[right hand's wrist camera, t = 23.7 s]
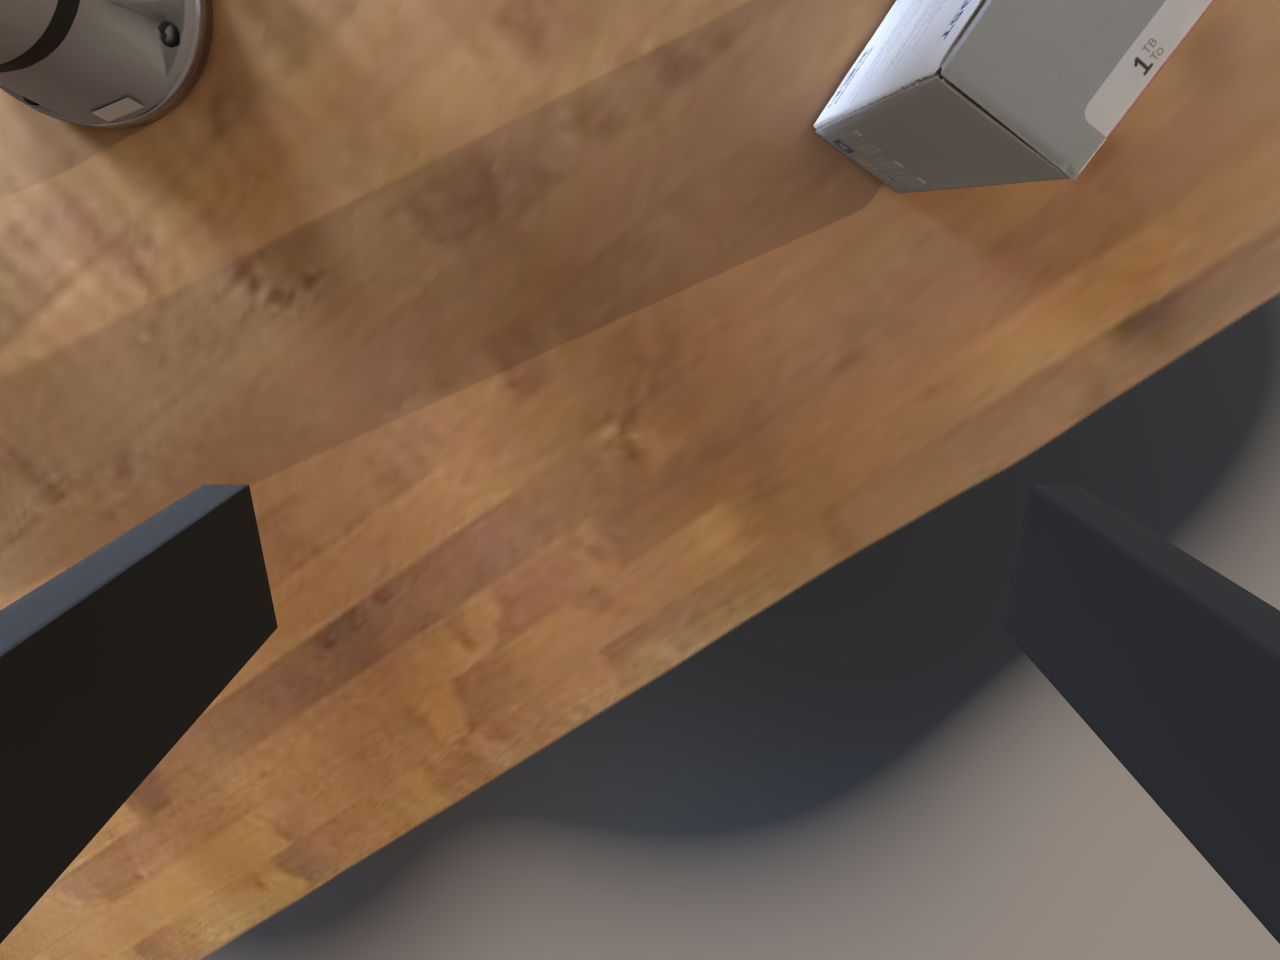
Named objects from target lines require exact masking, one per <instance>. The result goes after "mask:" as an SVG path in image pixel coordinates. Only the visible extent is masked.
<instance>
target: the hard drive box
mask: <svg viewBox="0 0 1280 960" xmlns="http://www.w3.org/2000/svg"><path fill="white" fill-rule="evenodd" d="M1212 2H1213V0H896V2H895V3H894V5H893V6H892V8H891V9H890V11H889V12H888V14H887V15H886V17H885V18H884V20H883V21H882V23H881V25H880V26H879V28H878V29H877V31H876V32H875V34H874V35H873V37H872V38H871V40H870V41H869V42H868V44H867V45H866V47H865V48H864V50H863V51H862V53H861V54H860V56H859V57H858V59H857V60H856V62H855V63H854V65H853V66H852V68H851V69H850V71H849V72H848V74H847V75H846V77H845V78H844V80H843V81H842V83H841V84H840V86H839V87H838V89H837V90H836V92H835V94H834V95H833V97H832V98H831V100H830V101H829V103H828V104H827V105H826V107H825V108H824V110H823V112H822V113H821V115H820V116H819V118H818V119H817V121H816V122H815V124H814V128H816V133H817V134H818V135H819V136H821V137H822V138H823V139H825V140H826V141H827V142H829V143H830V144H831V145H833V146H834V147H835V148H837V149H838V150H839V151H841V152H842V153H843V154H845V155H846V156H847V157H849V158H850V159H851V160H853V161H854V162H856V163H857V164H858V165H860V166H861V167H863V168H864V169H865V170H867V171H868V172H869V173H871V174H872V175H873V176H875V177H876V178H877V179H879V180H880V181H882V182H883V183H884V184H886V185H887V186H889V187H890V188H891V189H893V190H894V191H896V192H897V193H909V192H920V191H932V190H944V189H956V188H967V187H979V186H990V185H1001V184H1012V183H1023V182H1034V181H1046V180H1057V179H1072V180H1075V179H1076V178H1077V177H1078V175H1079V174H1080V173H1081V171H1082V170H1083V169H1084V167H1085V166H1086V165H1087V163H1088V162H1089V161H1090V159H1091V158H1092V157H1093V155H1094V154H1095V153H1096V151H1097V150H1098V149H1099V147H1100V146H1101V145H1102V144H1103V143H1104V141H1105V140H1106V139H1107V138H1108V137H1109V136H1110V134H1111V133H1112V132H1113V130H1114V129H1115V128H1116V127H1117V125H1118V124H1119V123H1120V121H1121V120H1122V119H1123V117H1124V116H1125V115H1126V114H1127V112H1128V111H1129V110H1130V108H1131V107H1132V106H1133V105H1134V103H1135V102H1136V101H1137V99H1138V98H1139V97H1140V95H1141V94H1142V93H1143V91H1144V90H1145V89H1146V87H1147V86H1148V85H1149V84H1150V82H1151V81H1152V80H1153V79H1154V78H1155V76H1156V75H1157V74H1158V72H1159V71H1160V70H1161V68H1162V67H1163V66H1164V64H1165V63H1166V62H1167V60H1168V59H1169V58H1170V56H1171V55H1172V54H1173V53H1174V51H1175V50H1176V49H1177V47H1178V46H1179V45H1180V43H1181V42H1182V41H1183V40H1184V38H1185V37H1186V36H1187V34H1188V33H1189V32H1190V31H1191V29H1192V28H1193V27H1194V25H1195V24H1196V23H1197V21H1198V20H1199V19H1200V18H1201V16H1202V15H1203V14H1204V12H1205V11H1206V10H1207V9H1208V7H1209V6H1210V5H1211V3H1212Z"/></svg>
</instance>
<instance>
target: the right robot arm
mask: <svg viewBox="0 0 1280 960" xmlns="http://www.w3.org/2000/svg"><path fill="white" fill-rule="evenodd" d="M211 36H212V1H211V0H0V88H1V89H3V90H4V91H5V92H7V93H8V94H10V95H11V96H13V97H15V98H16V99H18V100H19V101H21V102H23V103H25V104H26V105H28V106H30V107H32V108H33V109H35V110H37V111H39V112H41V113H44V114H46V115H49V116H51V117H54V118H57V119H60V120H63V121H67V122H71V123H76V124H81V125H88V126H94V127H102V128H129V127H135V126H140V125H144V124H147V123H149V122H152V121H155V120H157V119H159V118H161V117H163V116H164V115H166V114H167V113H169V112H170V111H172V110H173V109H174V108H175V107H177V106H178V105H179V104H180V103H181V102H182V101H183V100H184V99H185V98H186V97H187V96H188V94H189V93H190V92H191V90H192V89H193V87H194V86H195V84H196V82H197V81H198V79H199V77H200V75H201V73H202V70H203V68H204V66H205V63H206V60H207V56H208V53H209V48H210V43H211ZM276 629H277V622H276V617H275V612H274V607H273V602H272V597H271V592H270V587H269V582H268V577H267V572H266V567H265V562H264V557H263V552H262V547H261V542H260V537H259V532H258V527H257V522H256V517H255V512H254V507H253V502H252V497H251V492H250V487H249V485H202V486H201V487H199V488H197V489H196V490H194V491H193V492H191V493H189V494H188V495H186V496H185V497H183V498H181V499H180V500H178V501H177V502H175V503H173V504H172V505H170V506H168V507H167V508H165V509H164V510H162V511H160V512H159V513H157V514H156V515H154V516H152V517H151V518H149V519H148V520H146V521H144V522H143V523H141V524H139V525H138V526H136V527H135V528H133V529H131V530H130V531H128V532H127V533H125V534H123V535H122V536H120V537H119V538H117V539H115V540H114V541H112V542H110V543H109V544H107V545H106V546H104V547H102V548H101V549H99V550H98V551H96V552H94V553H93V554H91V555H90V556H88V557H86V558H85V559H83V560H81V561H80V562H78V563H77V564H75V565H73V566H72V567H70V568H69V569H67V570H65V571H64V572H62V573H61V574H59V575H57V576H56V577H54V578H52V579H51V580H49V581H48V582H46V583H44V584H43V585H41V586H40V587H38V588H36V589H35V590H33V591H32V592H30V593H28V594H27V595H25V596H24V597H22V598H20V599H19V600H17V601H15V602H14V603H12V604H11V605H9V606H7V607H6V608H4V609H3V610H1V611H0V944H1V942H2V941H3V940H4V939H5V938H6V937H7V936H8V934H9V933H10V932H11V931H12V930H13V929H14V928H15V926H16V925H17V924H18V923H19V922H20V921H21V920H22V918H23V917H24V916H25V915H26V914H27V913H28V912H29V910H30V909H31V908H32V907H33V906H34V905H35V904H36V902H37V901H38V900H39V899H40V898H41V897H42V896H43V894H44V893H45V892H46V891H47V890H48V889H49V888H50V886H51V885H52V884H53V883H54V882H55V881H56V880H57V878H58V877H59V876H60V875H61V874H62V873H63V872H64V870H65V869H66V868H67V867H68V866H69V865H70V864H71V863H72V861H73V860H74V859H75V858H76V857H77V856H78V855H79V853H80V852H81V851H82V850H83V849H84V848H85V847H86V845H87V844H88V843H89V842H90V841H91V840H92V839H93V837H94V836H95V835H96V834H97V833H98V832H99V831H100V829H101V828H102V827H103V826H104V825H105V824H106V823H107V821H108V820H109V819H110V818H111V817H112V816H113V815H114V813H115V812H116V811H117V810H118V809H119V808H120V807H121V805H122V804H123V803H124V802H125V801H126V800H127V799H128V797H129V796H130V795H131V794H132V793H133V792H134V791H135V789H136V788H137V787H138V786H139V785H140V784H141V783H142V781H143V780H144V779H145V778H146V777H147V776H148V775H149V773H150V772H151V771H152V770H153V769H154V768H155V767H156V766H157V764H158V763H159V762H160V761H161V760H162V759H163V758H164V756H165V755H166V754H167V753H168V752H169V751H170V750H171V748H172V747H173V746H174V745H175V744H176V743H177V742H178V740H179V739H180V738H181V737H182V736H183V735H184V734H185V732H186V731H187V730H188V729H189V728H190V727H191V726H192V724H193V723H194V722H195V721H196V720H197V719H198V718H199V716H200V715H201V714H202V713H203V712H204V711H205V710H206V708H207V707H208V706H209V705H210V704H211V703H212V702H213V700H214V699H215V698H216V697H217V696H218V695H219V694H220V692H221V691H222V690H223V689H224V688H225V687H226V686H227V684H228V683H229V682H230V681H231V680H232V679H233V678H234V676H235V675H236V674H237V673H238V672H239V671H240V670H241V668H242V667H243V666H244V665H245V664H246V663H247V662H248V661H249V659H250V658H251V657H252V656H253V655H254V654H255V653H256V651H257V650H258V649H259V648H260V647H261V646H262V645H263V643H264V642H265V641H266V640H267V639H268V638H269V637H270V635H271V634H272V633H273V632H274V631H275V630H276ZM1003 629H1004V630H1005V631H1006V632H1007V633H1008V634H1009V635H1010V637H1011V638H1012V639H1013V640H1014V641H1015V642H1016V643H1017V645H1018V646H1019V647H1020V648H1021V649H1022V650H1023V651H1024V653H1025V654H1026V655H1027V656H1028V657H1029V658H1030V659H1031V660H1032V662H1033V663H1034V664H1035V665H1036V666H1037V667H1038V668H1039V670H1040V671H1041V672H1042V673H1043V674H1044V675H1045V676H1046V678H1047V679H1048V680H1049V681H1050V682H1051V683H1052V684H1053V686H1054V687H1055V688H1056V689H1057V690H1058V691H1059V692H1060V694H1061V695H1062V696H1063V697H1064V698H1065V699H1066V700H1067V702H1068V703H1069V704H1070V705H1071V706H1072V707H1073V708H1074V710H1075V711H1076V712H1077V713H1078V714H1079V715H1080V716H1081V718H1082V719H1083V720H1084V721H1085V722H1086V723H1087V724H1088V726H1089V727H1090V728H1091V729H1092V730H1093V731H1094V732H1095V733H1096V735H1097V736H1098V737H1099V738H1100V739H1101V740H1102V742H1103V743H1104V744H1105V745H1106V746H1107V747H1108V748H1109V750H1110V751H1111V752H1112V753H1113V754H1114V755H1115V756H1116V758H1117V759H1118V760H1119V761H1120V762H1121V763H1122V764H1123V766H1124V767H1125V768H1126V769H1127V770H1128V771H1129V772H1130V773H1131V775H1132V776H1133V777H1134V778H1135V779H1136V780H1137V781H1138V783H1139V784H1140V785H1141V786H1142V787H1143V788H1144V789H1145V791H1146V792H1147V793H1148V794H1149V795H1150V796H1151V797H1152V799H1153V800H1154V801H1155V802H1156V803H1157V804H1158V805H1159V807H1160V808H1161V809H1162V810H1163V811H1164V812H1165V813H1166V815H1167V816H1168V817H1169V818H1170V819H1171V820H1172V821H1173V823H1174V824H1175V825H1176V826H1177V827H1178V828H1179V829H1180V831H1181V832H1182V833H1183V834H1184V835H1185V836H1186V837H1187V839H1188V840H1189V841H1190V842H1191V843H1192V844H1193V845H1194V847H1195V848H1196V849H1197V850H1198V851H1199V852H1200V853H1201V854H1202V856H1203V857H1204V858H1205V859H1206V860H1207V861H1208V863H1209V864H1210V865H1211V866H1212V867H1213V868H1214V869H1215V870H1216V872H1217V873H1218V874H1219V875H1220V876H1221V877H1222V878H1223V880H1224V881H1225V882H1226V883H1227V884H1228V885H1229V886H1230V888H1231V889H1232V890H1233V891H1234V892H1235V893H1236V894H1237V896H1238V897H1239V898H1240V899H1241V900H1242V901H1243V902H1244V904H1245V905H1246V906H1247V907H1248V908H1249V909H1250V910H1251V912H1252V913H1253V914H1254V915H1255V916H1256V917H1257V918H1258V920H1259V921H1260V922H1261V923H1262V924H1263V925H1264V926H1265V928H1266V929H1267V930H1268V931H1269V932H1270V933H1271V934H1272V936H1273V937H1274V938H1275V939H1276V940H1277V941H1278V942H1279V943H1280V611H1279V610H1277V609H1276V608H1274V607H1273V606H1271V605H1269V604H1268V603H1266V602H1265V601H1263V600H1261V599H1260V598H1258V597H1256V596H1255V595H1253V594H1252V593H1250V592H1248V591H1247V590H1245V589H1244V588H1242V587H1240V586H1239V585H1237V584H1236V583H1234V582H1232V581H1231V580H1229V579H1228V578H1226V577H1224V576H1223V575H1221V574H1219V573H1218V572H1216V571H1215V570H1213V569H1211V568H1210V567H1208V566H1207V565H1205V564H1203V563H1202V562H1200V561H1199V560H1197V559H1195V558H1194V557H1192V556H1190V555H1189V554H1187V553H1186V552H1184V551H1182V550H1181V549H1179V548H1178V547H1176V546H1174V545H1173V544H1171V543H1170V542H1168V541H1166V540H1165V539H1163V538H1161V537H1160V536H1158V535H1157V534H1155V533H1153V532H1152V531H1150V530H1149V529H1147V528H1145V527H1144V526H1142V525H1141V524H1139V523H1137V522H1136V521H1134V520H1132V519H1131V518H1129V517H1128V516H1126V515H1124V514H1123V513H1121V512H1120V511H1118V510H1116V509H1115V508H1113V507H1111V506H1110V505H1108V504H1107V503H1105V502H1103V501H1102V500H1100V499H1099V498H1097V497H1095V496H1094V495H1092V494H1091V493H1089V492H1087V491H1086V490H1084V489H1083V488H1081V487H1079V486H1078V485H1031V487H1030V492H1029V497H1028V502H1027V507H1026V512H1025V517H1024V523H1023V527H1022V532H1021V537H1020V542H1019V547H1018V552H1017V557H1016V562H1015V567H1014V572H1013V577H1012V582H1011V587H1010V592H1009V597H1008V602H1007V607H1006V612H1005V617H1004V622H1003Z"/></svg>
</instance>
